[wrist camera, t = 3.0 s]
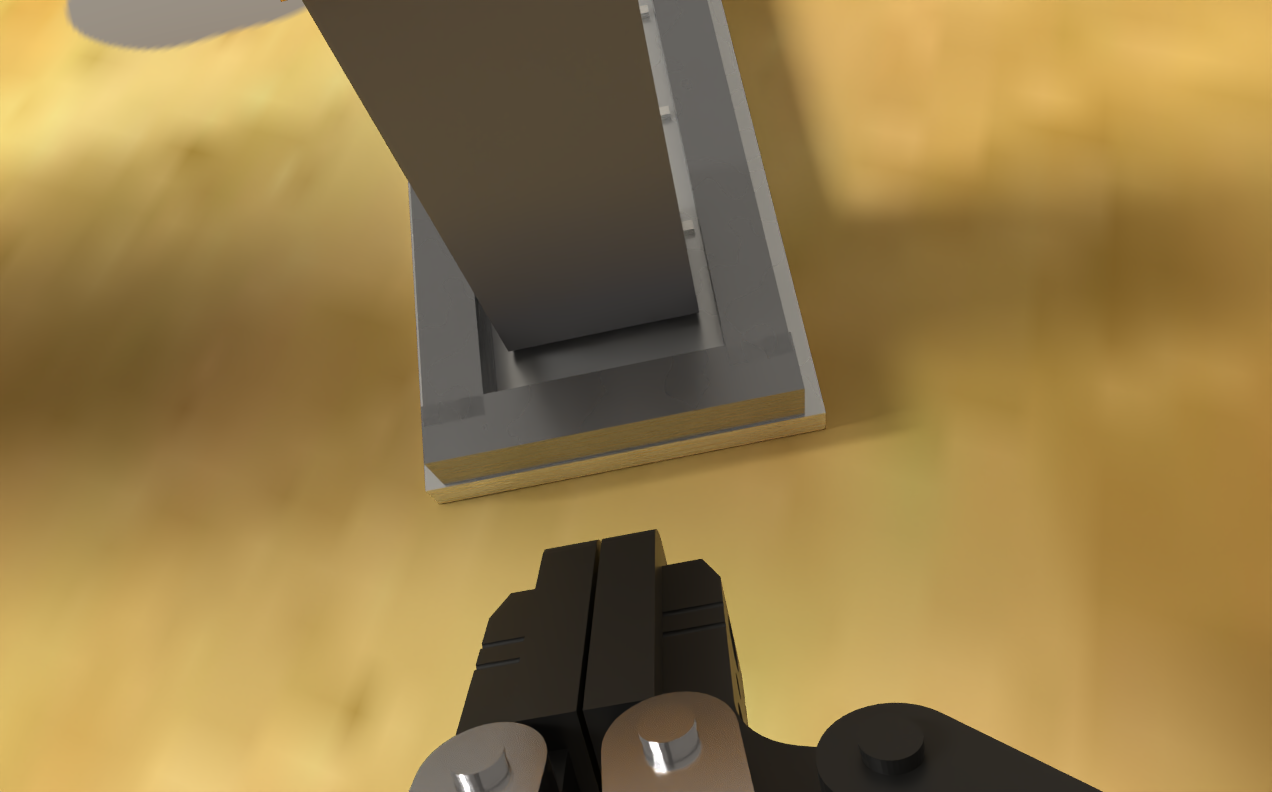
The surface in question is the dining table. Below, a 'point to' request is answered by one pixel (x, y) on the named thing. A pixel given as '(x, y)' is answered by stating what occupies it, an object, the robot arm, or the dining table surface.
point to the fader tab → (528, 153)
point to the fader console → (638, 355)
